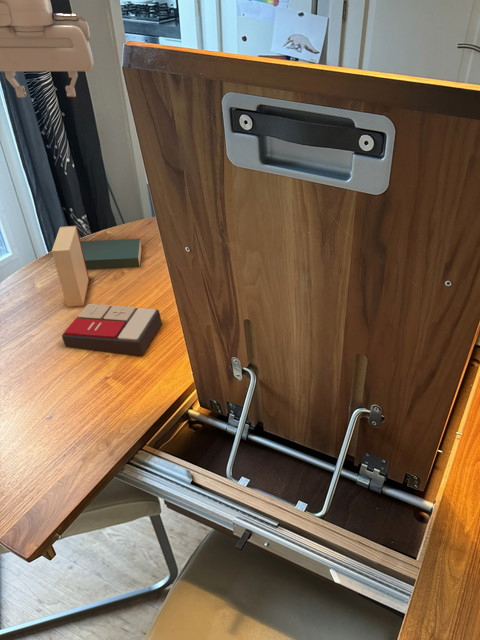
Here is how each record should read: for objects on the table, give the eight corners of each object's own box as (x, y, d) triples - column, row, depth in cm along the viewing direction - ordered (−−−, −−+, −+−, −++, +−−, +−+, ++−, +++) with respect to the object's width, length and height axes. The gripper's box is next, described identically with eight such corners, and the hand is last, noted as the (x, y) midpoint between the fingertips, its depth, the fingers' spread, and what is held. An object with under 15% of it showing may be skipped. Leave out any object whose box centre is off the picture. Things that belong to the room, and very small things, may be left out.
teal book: (77, 272, 118) (74, 260, 116) (82, 252, 125) (79, 241, 123) (140, 269, 120) (138, 257, 118) (142, 250, 127) (140, 238, 125)
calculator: (86, 301, 102) (159, 306, 100) (92, 319, 104) (162, 324, 102) (59, 332, 93) (137, 338, 91) (66, 351, 96) (142, 358, 94)
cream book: (67, 309, 106) (50, 251, 98) (74, 282, 114) (59, 226, 106) (84, 307, 106) (69, 249, 98) (90, 281, 115) (76, 225, 106)
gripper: (88, 11, 98) (102, 92, 107) (-27, 10, 96) (-3, 93, 104) (84, 15, 94) (99, 99, 102) (-37, 13, 91) (-11, 100, 100)
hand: (47, 96), depth 103 cm, fingers open, 8 cm apart
